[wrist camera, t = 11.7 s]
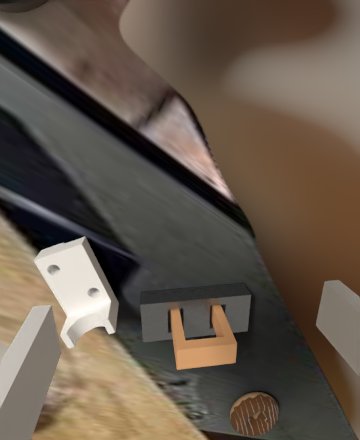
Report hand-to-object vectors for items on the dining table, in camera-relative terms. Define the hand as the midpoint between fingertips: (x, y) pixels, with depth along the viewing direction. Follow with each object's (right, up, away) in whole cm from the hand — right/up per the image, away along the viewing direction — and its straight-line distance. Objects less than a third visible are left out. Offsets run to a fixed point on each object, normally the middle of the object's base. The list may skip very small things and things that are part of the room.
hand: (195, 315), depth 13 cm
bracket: (-16, -4, +31) cm, 35 cm away
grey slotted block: (+2, -10, +35) cm, 37 cm away
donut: (+15, -36, +47) cm, 61 cm away
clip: (+2, -11, +34) cm, 36 cm away
